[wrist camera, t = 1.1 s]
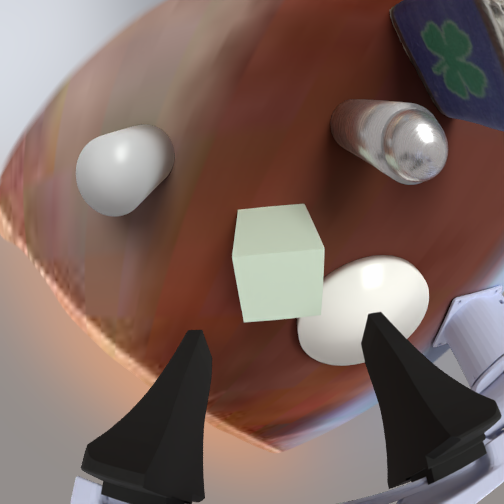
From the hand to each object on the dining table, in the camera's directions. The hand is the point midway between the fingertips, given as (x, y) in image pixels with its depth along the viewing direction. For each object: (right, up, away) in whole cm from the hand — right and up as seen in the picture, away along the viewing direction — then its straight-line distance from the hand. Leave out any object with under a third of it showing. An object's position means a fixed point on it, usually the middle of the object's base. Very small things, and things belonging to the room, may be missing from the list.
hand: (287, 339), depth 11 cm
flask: (+10, +17, +1) cm, 20 cm away
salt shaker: (+5, +12, +4) cm, 13 cm away
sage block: (0, +5, +8) cm, 10 cm away
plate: (+9, -2, +12) cm, 15 cm away
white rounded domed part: (-9, +10, +5) cm, 14 cm away
